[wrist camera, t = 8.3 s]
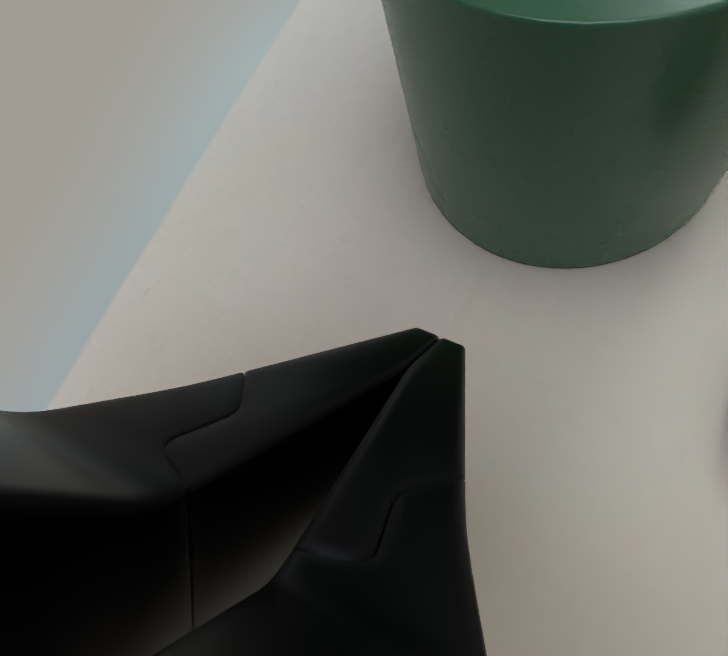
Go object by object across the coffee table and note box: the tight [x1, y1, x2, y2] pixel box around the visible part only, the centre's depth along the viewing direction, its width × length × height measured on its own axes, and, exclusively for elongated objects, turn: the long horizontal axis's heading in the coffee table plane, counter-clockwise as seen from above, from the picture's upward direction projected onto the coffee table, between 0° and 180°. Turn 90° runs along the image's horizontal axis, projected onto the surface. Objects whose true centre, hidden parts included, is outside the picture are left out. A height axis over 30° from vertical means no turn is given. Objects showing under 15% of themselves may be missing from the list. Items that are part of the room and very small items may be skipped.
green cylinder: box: [381, 0, 728, 268], centre depth 15 cm, size 10×10×10 cm
